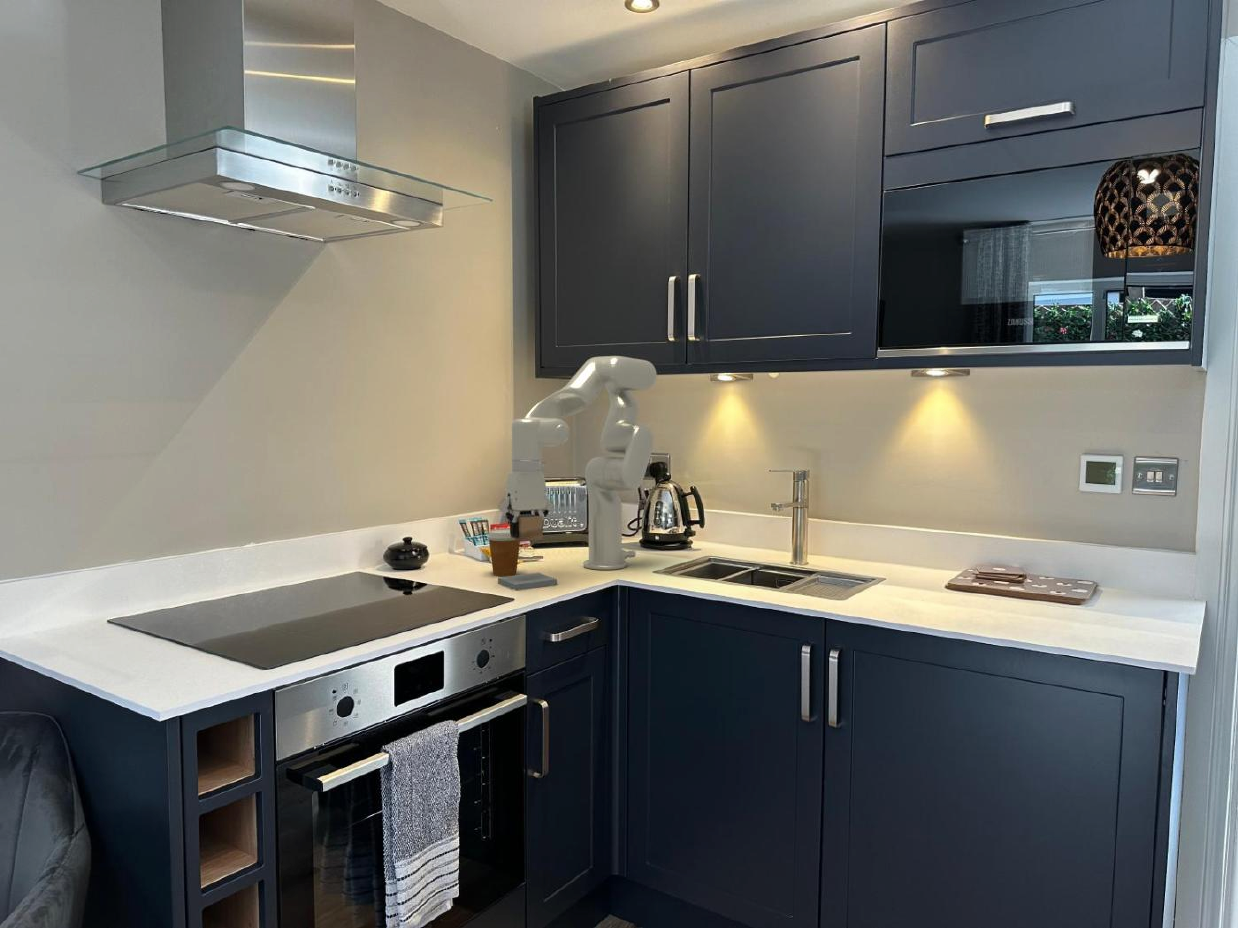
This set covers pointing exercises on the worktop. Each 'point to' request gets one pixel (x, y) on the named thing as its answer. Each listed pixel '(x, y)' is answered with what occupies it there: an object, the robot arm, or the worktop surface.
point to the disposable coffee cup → (503, 552)
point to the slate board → (527, 581)
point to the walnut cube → (529, 528)
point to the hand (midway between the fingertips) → (526, 535)
